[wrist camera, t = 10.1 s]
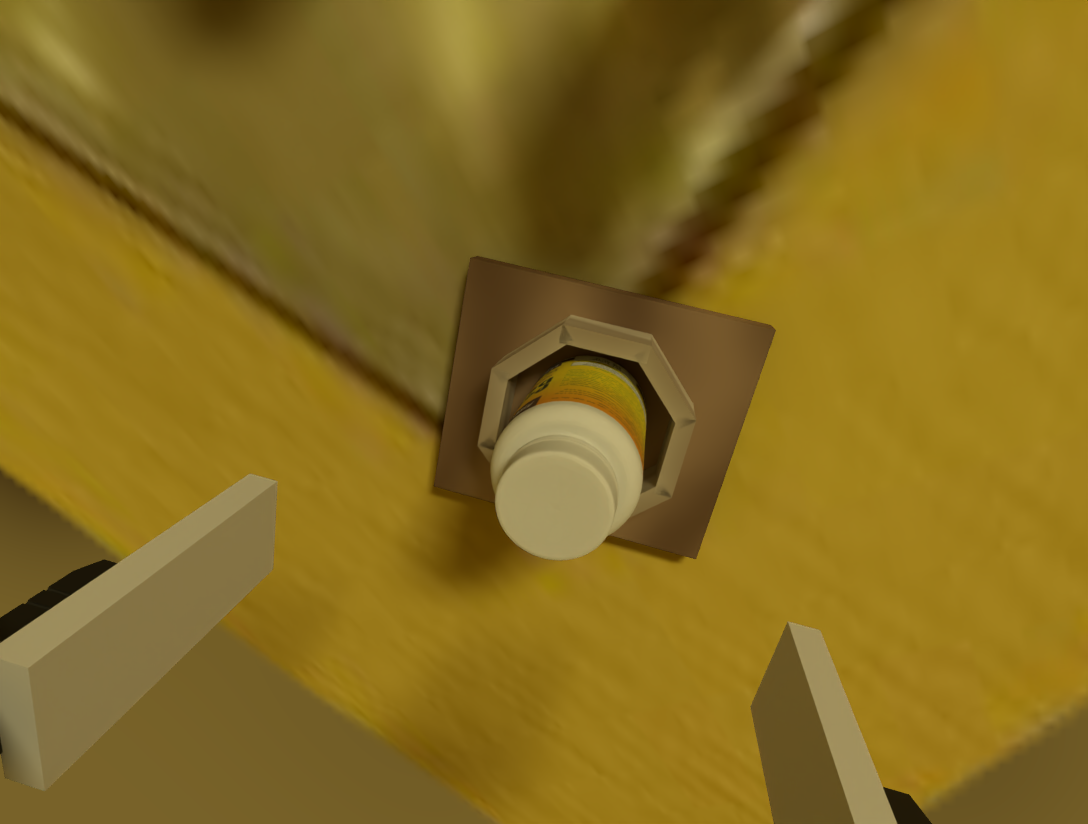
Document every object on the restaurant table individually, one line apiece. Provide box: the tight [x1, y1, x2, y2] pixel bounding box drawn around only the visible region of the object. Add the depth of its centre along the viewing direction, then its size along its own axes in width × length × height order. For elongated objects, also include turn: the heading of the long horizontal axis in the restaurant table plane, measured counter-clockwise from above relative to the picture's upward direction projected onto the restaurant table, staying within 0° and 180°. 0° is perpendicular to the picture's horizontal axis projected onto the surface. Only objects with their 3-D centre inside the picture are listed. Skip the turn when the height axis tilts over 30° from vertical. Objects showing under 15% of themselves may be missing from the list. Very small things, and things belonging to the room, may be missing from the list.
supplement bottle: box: [490, 356, 647, 560], centre depth 24 cm, size 6×6×10 cm
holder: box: [434, 256, 776, 559], centre depth 28 cm, size 14×12×4 cm
